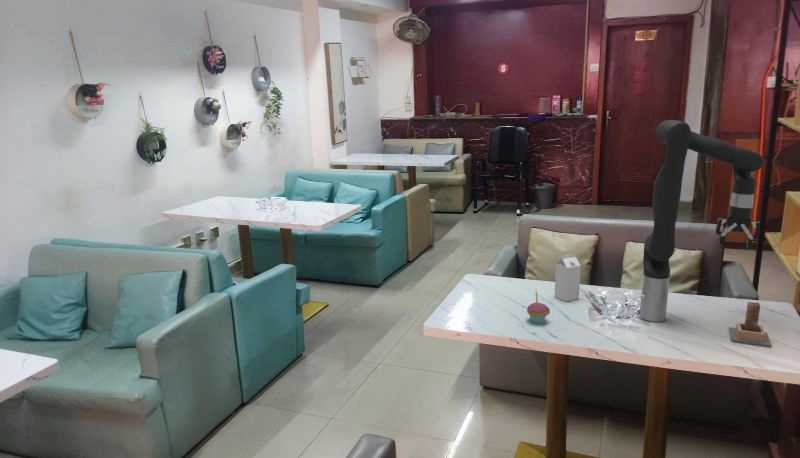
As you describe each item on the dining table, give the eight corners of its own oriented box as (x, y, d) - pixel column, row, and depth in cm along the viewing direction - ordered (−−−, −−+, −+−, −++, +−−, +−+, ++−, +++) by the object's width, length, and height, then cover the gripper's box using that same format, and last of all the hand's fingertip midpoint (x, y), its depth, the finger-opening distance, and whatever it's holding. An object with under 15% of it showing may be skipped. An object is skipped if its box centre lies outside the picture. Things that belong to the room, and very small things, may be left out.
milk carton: (554, 297, 255) (556, 254, 250) (567, 294, 258) (569, 251, 253) (565, 302, 249) (567, 258, 244) (578, 299, 252) (581, 256, 247)
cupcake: (522, 318, 233) (523, 289, 230) (540, 315, 236) (542, 286, 233) (534, 327, 225) (535, 296, 222) (553, 323, 228) (555, 293, 225)
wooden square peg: (744, 336, 212) (748, 305, 209) (743, 333, 215) (747, 301, 212) (755, 338, 210) (760, 306, 207) (754, 334, 213) (759, 303, 210)
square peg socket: (731, 341, 210) (732, 331, 209) (728, 329, 220) (730, 319, 219) (771, 347, 205) (772, 337, 204) (766, 334, 215) (768, 324, 215)
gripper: (720, 205, 222) (714, 247, 226) (764, 208, 217) (757, 251, 221) (719, 201, 229) (713, 242, 233) (762, 205, 223) (755, 246, 227)
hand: (734, 247), depth 227 cm, fingers open, 8 cm apart
